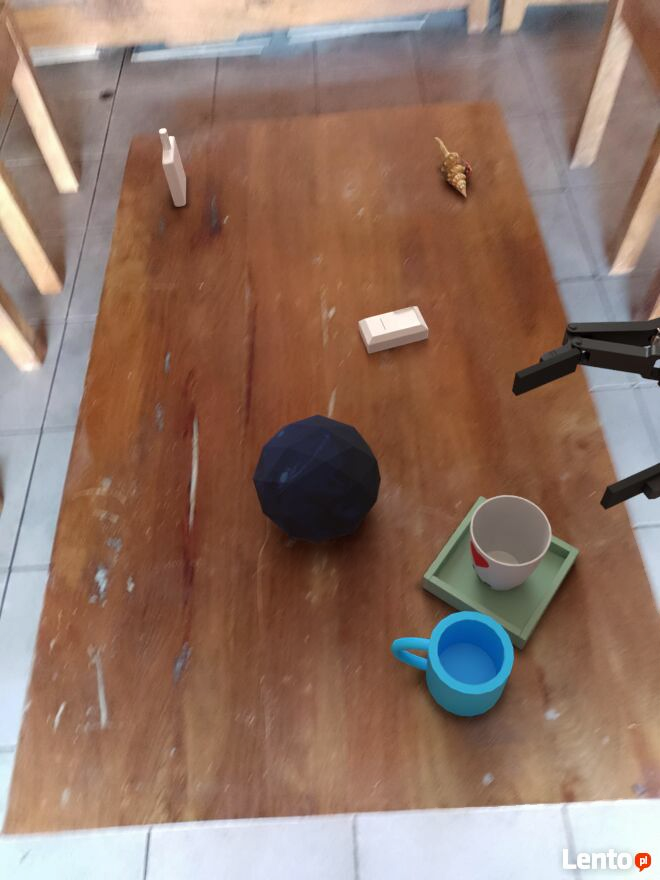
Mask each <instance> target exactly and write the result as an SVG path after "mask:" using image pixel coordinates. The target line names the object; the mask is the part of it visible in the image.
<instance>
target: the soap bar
mask: <svg viewBox="0 0 660 880" xmlns="http://www.w3.org/2000/svg"><path fill="white" fill-rule="evenodd" d="M357 322H358V323H357V324H358V332H359V334H360V336H361V339H362V341H363V344H364V346H365V348H366V351H367V354H369V355H370V354H374V353H377V352H381V351H384V350H389V349H392V348H397V347H400V346H405V345H408V344H412V343H415V342H420V341H423V340H427V339H429V333H430V332H429V331H430V329H429V328H428V325H427V323H426V321H425V319H424V317H423V315H422V313H421V311H420V309H419V307H418V305H416V306H414V305H413V306H408V307H404V308H401V309H397V310H393V311H389V312H386V313H385V312H384V313H382V314H377V315H373V316H369V317H366V318H363V319H361V320H359V321H357Z"/></svg>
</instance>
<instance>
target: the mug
mask: <svg viewBox="0 0 660 880" xmlns="http://www.w3.org/2000/svg"><path fill="white" fill-rule="evenodd" d="M407 650H408V651H407ZM409 650H413V651H414V650H415V651H423V652H427V658H424V657H422V656H418V655H416V654H413V653H411V652H409ZM390 651H391V653H392V655H393V657H394V658H396V659H397V660H398V661H400V662H402V663H403V664H405V665H408V666H411V667H413V668H415V669H419V670H422V671H425V672H426V673H425V681H426V684H427V688H428V691H429V693H430V694H431V696H432V697H433V699H434V701H435V702H436V704H438V705H439V706H441V707H442V708H443V709H444V710H445V711H447V712H450V713H452V714H454V715H456V716H462V717H475V716H479V715H481V714H482V715H483V714H485V713H487V711H489V710H491V709H492V708H493V707H494V706H495V705H496V704H497V702H498V701H499V699H500V698H501V696H502V694H503V692H504V689H505V688H506V687H505V686H506V684H507V682H508V680H509V677H510V675H511V672H512V668H513V665H514V663H515V660H514V656H515V655H514V645H513V644H512V643H511V641H510V638H509V635H508V634H507V633H506V631H505V630H504V629H503V627H502V626H501V625H500V624H499V623H497V622H496V621H495V620H493V619H492V618H491V617H489V616H487V615H484V614H481V613H478V612H470V611H462V612H461V611H459V612H454V613H451V614H449V615H447V616H446V617H444V618H442V619H441V620H440V621H439V622H438V623H437V625H436V626H435V627H434V628H433V629H432V632H431V635H430V638H425V637H411V636H409V637H401V638H397V639H395V640H394V641H393V642H392V644H391V646H390Z"/></svg>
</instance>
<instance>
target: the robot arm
mask: <svg viewBox="0 0 660 880" xmlns="http://www.w3.org/2000/svg"><path fill="white" fill-rule="evenodd" d="M563 334H564V335H563V339H562V342H561V346H559V347H556V348H554V349H553V350H552V349H551V350H549V351H547V352H545V353H542V355H541V356H540V357H539V361H538V362H537V363H535V364H532V365H530V366H528V367H526V368H523V369H520V370H518V371H516V372H515V374H514V377H513V384H512V387H511V388H512V389H511V392H512V393H513V394H514V396H515V397H518V396H521V395H523V394H526V393H528V392H530V391H533V390H535V389H538V388H540V387H543V386H545V385H548V384H550V383H552V382H554V381H556V380H558V379H562V378H564V377H566V376H568V375H571V374H574V373H576V370H577V367H578V365H579V366H583V367H584V366H585V367H591V368H597V369H602V370H603V369H604V370H610V371H616V372H622V373H630V374H636V375H639V376H640V377H641V378H642V379H645V380H651V381H655V382H657V386H658V387H659V388H660V367H656V366H655V365H656V363H657V362H658V361H659V360H660V316H658V317H655V318H652V319H649V320H636V321H635V320H634V321H631V320H630V321H629V320H628V321H591V322H589V321H588V322H587V321H586V322H583V321H581V322H569V323H567V325H566V327H565V330H564V333H563ZM642 494H643V495H644V496H645V497H646V498H647V500H656V499H658V498H660V462H658V463H656V464H653V465H651V466H649V467H647V468H645V469H642V470H640V471H638V472H636V473H634V474H632V475H629V476H627V477H625V478H623V479H621V480H618V481H616V482H614V483H611V484H609V485H607V487H606V488H605V491H604V493H603V494H602V497H601V500H600V502H599V505H601V506H602V508H603V509H604V511H606V510H609V509H611V508H613V507H615V506H617V505H619V504H622V503H623V502H626V501H628V500H630V499H633V498H634V497H637V496H639V495H642Z"/></svg>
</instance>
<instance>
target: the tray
mask: <svg viewBox="0 0 660 880" xmlns="http://www.w3.org/2000/svg"><path fill="white" fill-rule="evenodd" d="M488 499H489V498H486V497H483V496H482V495H480V496H479V497H478V499H477V500H476V501H475V503H474V504H473V506H472V507H471V509H470V510H469V511H468V513H467V514H466V515H465V517H464V518H463V519H462V521H461V523H460V524H459V525H458V527H457V528H456V529H455V531H454V533H453V534H452V535H451V536H450V538H449V540H448V541H447V542H446V544H445V545H444V547H443V548H442V549H441V551H440V552H439V554H438V555H437V556H436V558H435V559H434V561H433V562H432V563H431V565H430V566H429V568H428V569H427V570H426V571H425V573H424V575H423V576H422V588H423V589H424V590H426V591H427V592H429V593H430V594H432V595H434V596H436V597H437V598H439V599H441V600H442V601H443V602H444V603H446V604H448V605H449V606H451V607H452V608H455V609H456V610H458V611H459V612H462V611H470V612H478V613H481V614H484V615H487V616H489V617H491V618H492V619H493V620H495V621H496V622H497V623H499V624H500V625H501V626H502V627H503V629H504V630H505V631H506V633H507V634H508V635H509V638H510V641H511V643H512V646H514V647H516V648H518V649H519V650H521V651H522V650H523V649H524V647H525V645H526V643H527V642H528V640H529V639H530V637H531V636H532V634H533V633H534V630H535V629H536V627H537V625H538V623H539V622H540V620H541V618H542V617H543V615H544V614H545V612H546V611H547V609H548V608H549V606H550V604H551V603H552V600H553V599H554V597H555V596H556V594H557V592H558V591H559V589H560V587H561V586H562V584H563V582H564V580H565V579H566V577H567V576H568V574H569V572H570V570H571V569H572V567H573V566H574V564H575V562H576V560H577V558H578V556H579V553H580V551H581V550H580V549H578V548H577V547H575V546H573V545H571V544H569V543H567V542H566V541H564V540H562V539H560V538H558V537H556V536H555V535H553V534H552V535H551V542H550V545H549V547H548V549H547V551H546V553H545V555H544V556H543V558H542V560H541V562H540V564H539V565H538V567H537V568H536V570H535V571H534V572H533V573H532V574H531V575H530V576H529V577H528V578H527V579H526V580H525V581H524V582H523V583H522V584H520V585H518V586H516V587H514V588H512V589H510V590H506V591H496V590H493V589H490V588H488V587H487V586H485V585H484V584H483V583H482V582H481V581H480V579H479V577H478V576H477V574H476V572H475V570H474V568H473V565H472V560H471V554H470V548H469V542H470V525H471V519H472V516H473V514H474V512H475V510H476V509H477V508H478V507H479V506H480V505H481V504H482V503H483V502H485V501H486V500H488Z"/></svg>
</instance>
